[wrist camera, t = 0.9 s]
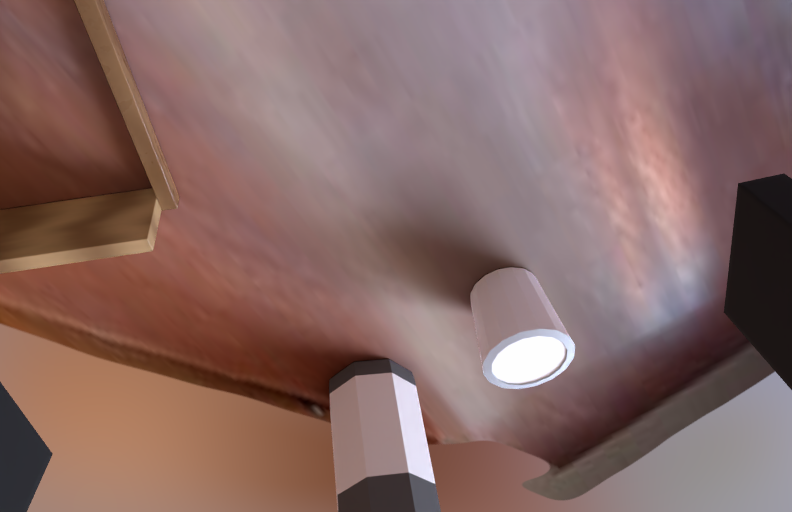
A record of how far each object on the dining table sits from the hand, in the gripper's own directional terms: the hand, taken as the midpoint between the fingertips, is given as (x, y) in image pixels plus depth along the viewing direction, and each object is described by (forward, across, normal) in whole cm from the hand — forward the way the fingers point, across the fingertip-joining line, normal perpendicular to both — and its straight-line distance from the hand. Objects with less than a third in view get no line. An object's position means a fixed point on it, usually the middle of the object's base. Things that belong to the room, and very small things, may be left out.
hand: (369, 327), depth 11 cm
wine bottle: (+34, -5, -33) cm, 47 cm away
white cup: (+32, +8, -25) cm, 41 cm away
